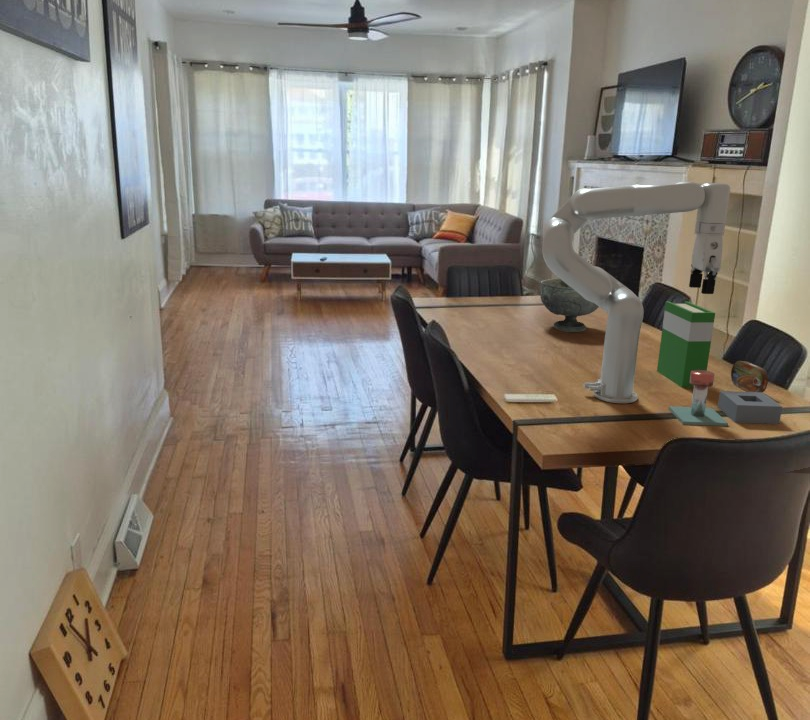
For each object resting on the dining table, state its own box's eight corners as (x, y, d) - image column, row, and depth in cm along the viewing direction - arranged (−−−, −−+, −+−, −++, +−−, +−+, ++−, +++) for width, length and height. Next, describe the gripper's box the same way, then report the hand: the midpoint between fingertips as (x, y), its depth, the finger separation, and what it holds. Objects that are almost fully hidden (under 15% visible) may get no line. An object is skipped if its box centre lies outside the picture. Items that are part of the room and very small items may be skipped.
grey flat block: (734, 422, 192) (737, 405, 191) (717, 407, 203) (720, 390, 202) (779, 423, 192) (782, 406, 190) (759, 408, 203) (762, 392, 202)
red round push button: (712, 418, 192) (718, 376, 189) (690, 418, 192) (695, 376, 189) (704, 410, 198) (709, 369, 194) (682, 410, 198) (687, 369, 195)
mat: (682, 424, 190) (683, 421, 189) (668, 408, 201) (669, 406, 201) (727, 425, 189) (728, 423, 189) (711, 410, 201) (711, 407, 200)
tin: (728, 382, 227) (732, 357, 225) (737, 382, 228) (741, 357, 225) (757, 397, 213) (762, 371, 210) (767, 397, 213) (771, 371, 211)
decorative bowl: (608, 336, 281) (612, 286, 276) (544, 335, 281) (547, 286, 277) (593, 323, 307) (596, 277, 302) (534, 323, 307) (536, 277, 302)
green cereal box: (656, 371, 238) (665, 301, 231) (677, 370, 238) (687, 301, 232) (681, 387, 221) (692, 312, 214) (704, 387, 221) (715, 312, 215)
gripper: (736, 232, 185) (726, 296, 190) (711, 226, 202) (703, 285, 206) (707, 232, 185) (698, 296, 190) (685, 225, 202) (677, 284, 207)
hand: (700, 290), depth 198 cm, fingers open, 9 cm apart
